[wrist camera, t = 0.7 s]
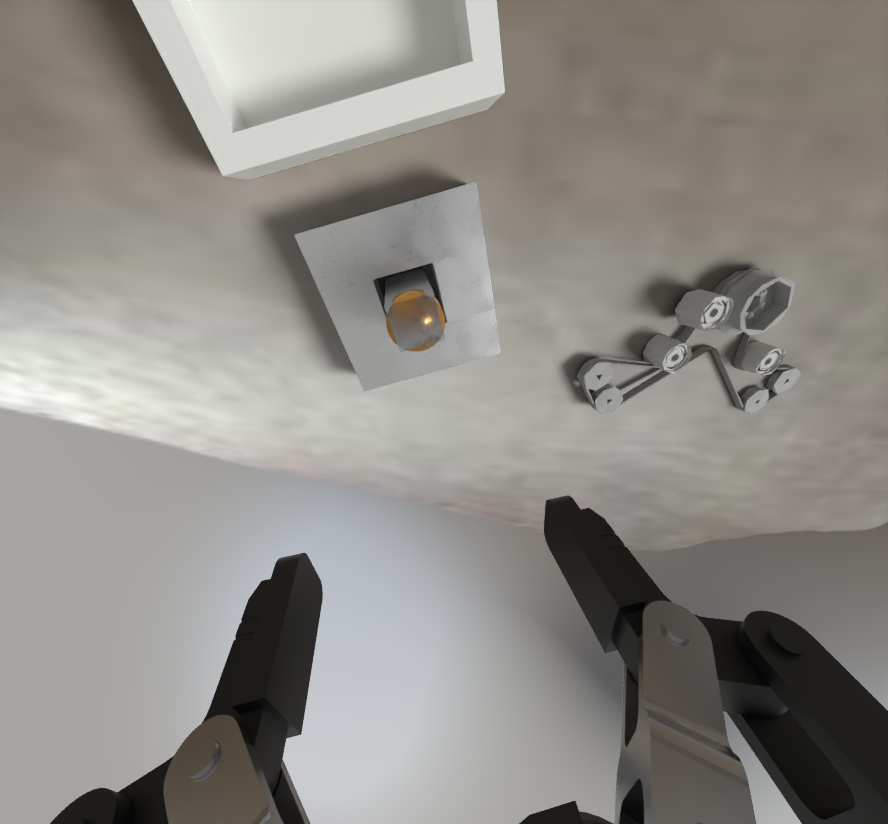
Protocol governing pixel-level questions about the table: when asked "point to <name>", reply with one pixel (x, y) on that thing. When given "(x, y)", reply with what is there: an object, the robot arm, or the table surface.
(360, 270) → the block
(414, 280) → the lock pin
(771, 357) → the pulley system
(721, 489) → the table surface
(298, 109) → the parts tray
